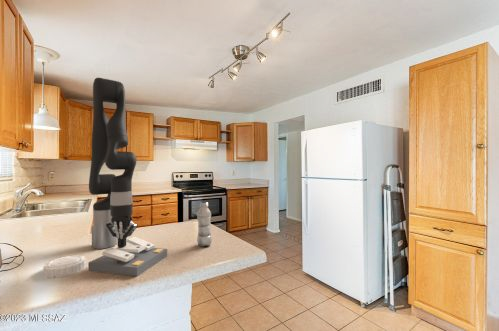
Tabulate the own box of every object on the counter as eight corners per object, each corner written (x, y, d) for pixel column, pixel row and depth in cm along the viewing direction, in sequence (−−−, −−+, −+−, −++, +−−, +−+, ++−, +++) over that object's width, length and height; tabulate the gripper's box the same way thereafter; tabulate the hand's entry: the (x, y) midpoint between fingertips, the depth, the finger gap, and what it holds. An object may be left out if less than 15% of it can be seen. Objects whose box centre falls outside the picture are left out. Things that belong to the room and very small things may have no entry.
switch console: (88, 270, 85) (88, 258, 85) (125, 252, 102) (125, 241, 102) (137, 276, 80) (137, 263, 80) (167, 256, 98) (166, 245, 98)
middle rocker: (115, 251, 91) (115, 248, 91) (123, 247, 94) (123, 244, 94) (138, 252, 88) (138, 248, 88) (145, 248, 92) (145, 245, 92)
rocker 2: (126, 242, 96) (127, 238, 96) (133, 238, 100) (134, 235, 100) (147, 251, 94) (148, 247, 94) (153, 247, 98) (154, 244, 98)
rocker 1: (102, 254, 85) (102, 250, 85) (111, 250, 89) (111, 247, 89) (126, 262, 83) (126, 258, 82) (134, 257, 86) (134, 253, 86)
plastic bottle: (208, 248, 107) (208, 203, 106) (194, 247, 108) (194, 203, 108) (213, 243, 113) (213, 201, 113) (200, 242, 114) (200, 201, 114)
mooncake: (79, 260, 94) (79, 251, 94) (90, 269, 87) (90, 259, 87) (40, 271, 85) (39, 261, 85) (47, 282, 77) (47, 271, 77)
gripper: (99, 204, 90) (99, 249, 90) (129, 205, 87) (129, 252, 87) (114, 201, 97) (115, 243, 97) (142, 202, 94) (143, 245, 94)
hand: (122, 247), depth 92 cm, fingers closed
